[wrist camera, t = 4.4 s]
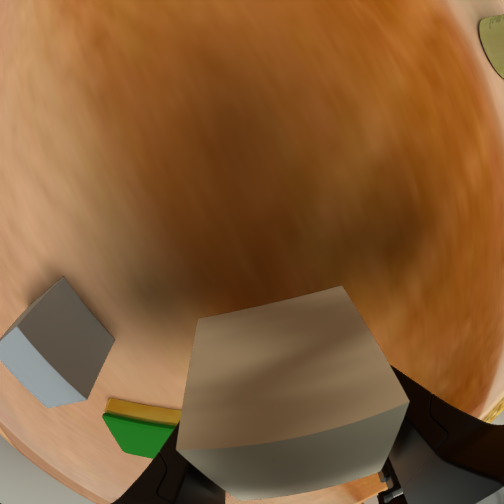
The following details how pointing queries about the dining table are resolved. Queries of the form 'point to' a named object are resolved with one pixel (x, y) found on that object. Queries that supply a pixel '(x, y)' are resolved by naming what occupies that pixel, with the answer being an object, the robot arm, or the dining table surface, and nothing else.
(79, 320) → the slate block
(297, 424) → the birch block
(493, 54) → the tube
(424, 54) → the dining table surface
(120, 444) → the dish sponge
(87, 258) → the dining table surface
